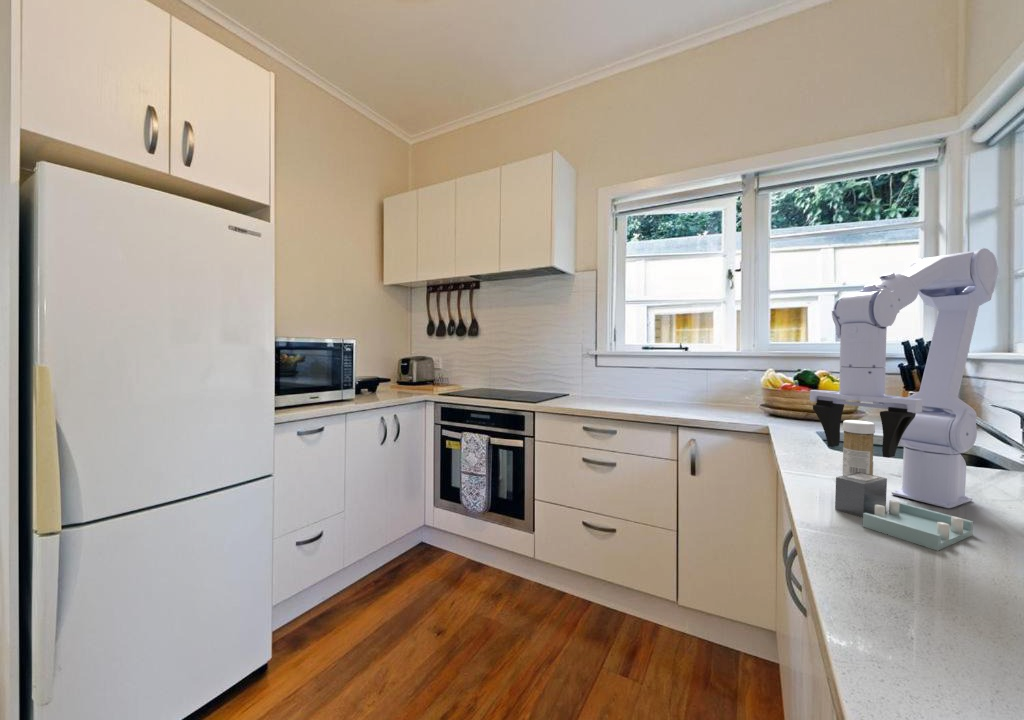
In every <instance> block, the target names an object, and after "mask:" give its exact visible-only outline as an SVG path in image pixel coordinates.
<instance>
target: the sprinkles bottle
mask: <svg viewBox="0 0 1024 720" xmlns="http://www.w3.org/2000/svg"><path fill="white" fill-rule="evenodd" d="M842 430H843V446H842V476H843V475H848V474H852V473H856V472H861V473H866V474H870V475H874V436H875V433H876V425H875V422H872V421H867V420H861V419H860V420H859V419H845V420H843V422H842Z"/></svg>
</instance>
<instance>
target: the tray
mask: <svg viewBox="0 0 1024 720" xmlns="http://www.w3.org/2000/svg"><path fill="white" fill-rule="evenodd" d="M888 502H889V503H888V506H889V507H888V513H886V511H885V506H882V505H875V513H874V515H873V514H869V513H863V518H862V527H863V528H866V529H869V530H872V531H875V532H879V533H881V532H882V534H885V535H887V534H888V535H887V536H891V537H894V538H897V539H900V540H904V541H907V542H909V543H913V544H916V545H919V546H922V547H926V548H928V549H932V550H935V551H937V552H938V551H940V550H943V549H946V548H947V547H949V546H952V545H954V544H956V543H958V542H960V541H962V540H965V539H967V538H970V537H972V536H973V535H974V521H973V520H969V519H966V518H961V517H958V516H954V515H951V514H946V513H942V512H939V511H935V510H931V509H928V508H923V507H920V506H916V505H912V504H909V503H904V502H901V501H897V500H893V499H891V500H889V501H888Z"/></svg>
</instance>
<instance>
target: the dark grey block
mask: <svg viewBox="0 0 1024 720" xmlns="http://www.w3.org/2000/svg"><path fill="white" fill-rule="evenodd" d="M887 486H888V478H886V477H883V476H878V475H874V474H873V475H870V474H866V473H861V472H856V473H852V474H848V475H843V474H842V475H839V476H836V477H835V494H834V495H835V502H834V505H835V506H834V510H835V511H839V512H842V513H846V514H849V515H853V516H856V517H858V516H859V518H861V517H862V519H863V513H869V514H873V515H874V513H875V505H882V506H885V512H886V510H887V490H888V489H887Z"/></svg>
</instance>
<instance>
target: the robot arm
mask: <svg viewBox="0 0 1024 720" xmlns="http://www.w3.org/2000/svg"><path fill="white" fill-rule="evenodd" d="M998 275H999V267H998V263H997V259H996V255H995V254H994V253H993V252H992V251H991V250H990V249H988V248H984V247H983V248H978V249H976V250H970V251H964V252H956V253H950V254H944V255H942V254H941V255H936V256H931V257H919V258H917V259H916V260H913V261H911V263H910V267H909V268H908V269H907V270H906V271H904V272H903V273H895V272H889V273H887V272H886V273H883V274H881V275H880V276H879V280H877V281H876V282H874V283H872V284H866V285H864V286H863V288H862V289H861V290H860V291H858V292H856V293H855V292H854V293H847V294H844V295H842V296H841V297H840V298H838V299H837V300H836V301H835V303H834V306H833V309H832V310H831V317H832V321H833V322H834V325H835V328H836V330H835V331H836V333H835V335H836V336H837V339H840V341H839V342H840V344H839V345H840V346H839V347H840V348H839V350H840V351H839V379H838V380H839V381H838V383H839V385H838V387H839V388H838V391H837V390H824V389H823V390H820V389H811V390H809V402H813V403H815V404H813V405H812V410H813V412H814V413H815V414H816V417H817V418H818V420H819V421H820V424H821V426H822V429H823V431H824V435H825V439H826V442H827V447H830V448H835V447H838V446H840V441H841V421H842V415H843V412H844V408H845V405H847V406H853V407H854V406H855V407H865V408H873V409H874V408H875V409H882V411H879V416H880V421H881V426H882V447H881V448H882V450H881V451H882V457H883V458H887V459H888V458H892V457H896V454H897V453H896V452H897V449H898V445H899V446H902V447H903V454H902V455H903V457H902V458H903V459H902V483H901V484H902V485H901V486H902V487H901V488H899V489H895V490H893V491H891V495H893V496H899V497H903V498H905V499H910V500H914V501H917V502H921V503H925V504H929V505H933V506H937V507H941V508H945V509H952V508H955V507H958V506H961V505H964V504H966V503H969V502H972V501H973V497H971V496H967V495H966V485H967V483H966V481H967V480H966V479H967V464H966V460H965V459H964V457H963V456H962V455H961V454H964V453H966V452H968V451H970V449H971V448H973V447H974V445H975V443H976V441H977V437H978V436H977V435H978V429H977V419H978V415H977V414H978V413H977V412H976V411H975V409H974V408H973V407H971V405H969V404H968V403H966V402H964V401H963V400H962V399H961V398H959V394H960V388H961V386H962V381H963V378H964V377H963V376H964V372H965V368H966V363H967V359H968V356H969V355H968V354H969V352H970V347H971V343H972V337H973V335H974V330H975V326H976V321H977V318H978V313H979V310H980V309H979V308H980V306H983V305H985V304H986V303H988V302H990V301H991V300H992V296H993V294H994V291H995V287H996V283H997V280H998V279H997V278H998ZM918 296H919V297H920V298H921V301H923V303H924V305H925V306H929V307H931V308H935V309H937V311H938V313H937V317H936V320H935V326H934V330H933V333H932V338H931V341H930V345H929V350H928V355H927V359H926V363H925V367H924V371H923V375H922V379H921V382H920V386H919V387H920V388H919V391H918V392H915V393H914V394H912V395H909V396H907V397H906V396H905V397H904V396H897V395H889V394H888V395H887V394H886V363H887V362H886V360H887V359H886V358H887V357H886V356H887V355H886V354H887V333H888V332H887V328H888V327H891V326H892V325H894V324H895V323H894V322H895V321H896V318H897V315H898V314H899V313H900V311H901V310H903V309H904V308H905V307H908V306H909V305H911V304H912V303H913V302H915V300H916V299H917V298H918ZM867 402H868V403H867ZM884 409H885V410H884Z"/></svg>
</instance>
